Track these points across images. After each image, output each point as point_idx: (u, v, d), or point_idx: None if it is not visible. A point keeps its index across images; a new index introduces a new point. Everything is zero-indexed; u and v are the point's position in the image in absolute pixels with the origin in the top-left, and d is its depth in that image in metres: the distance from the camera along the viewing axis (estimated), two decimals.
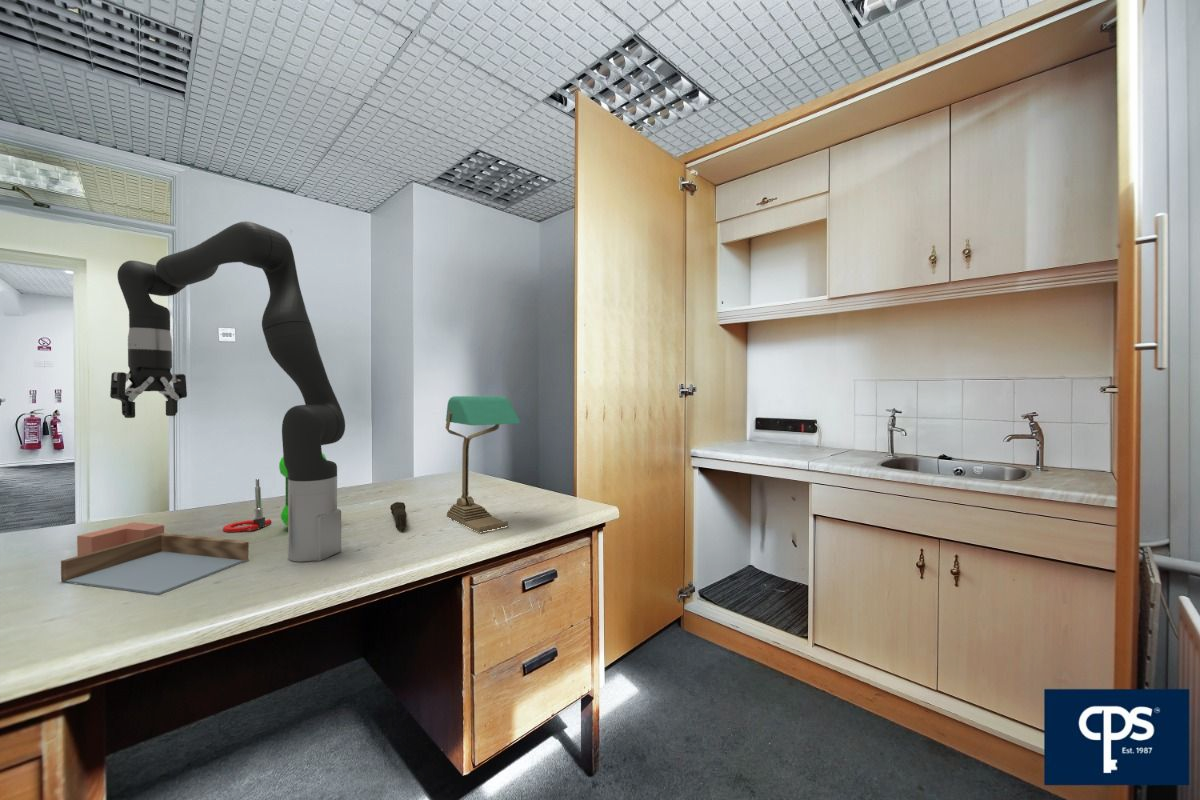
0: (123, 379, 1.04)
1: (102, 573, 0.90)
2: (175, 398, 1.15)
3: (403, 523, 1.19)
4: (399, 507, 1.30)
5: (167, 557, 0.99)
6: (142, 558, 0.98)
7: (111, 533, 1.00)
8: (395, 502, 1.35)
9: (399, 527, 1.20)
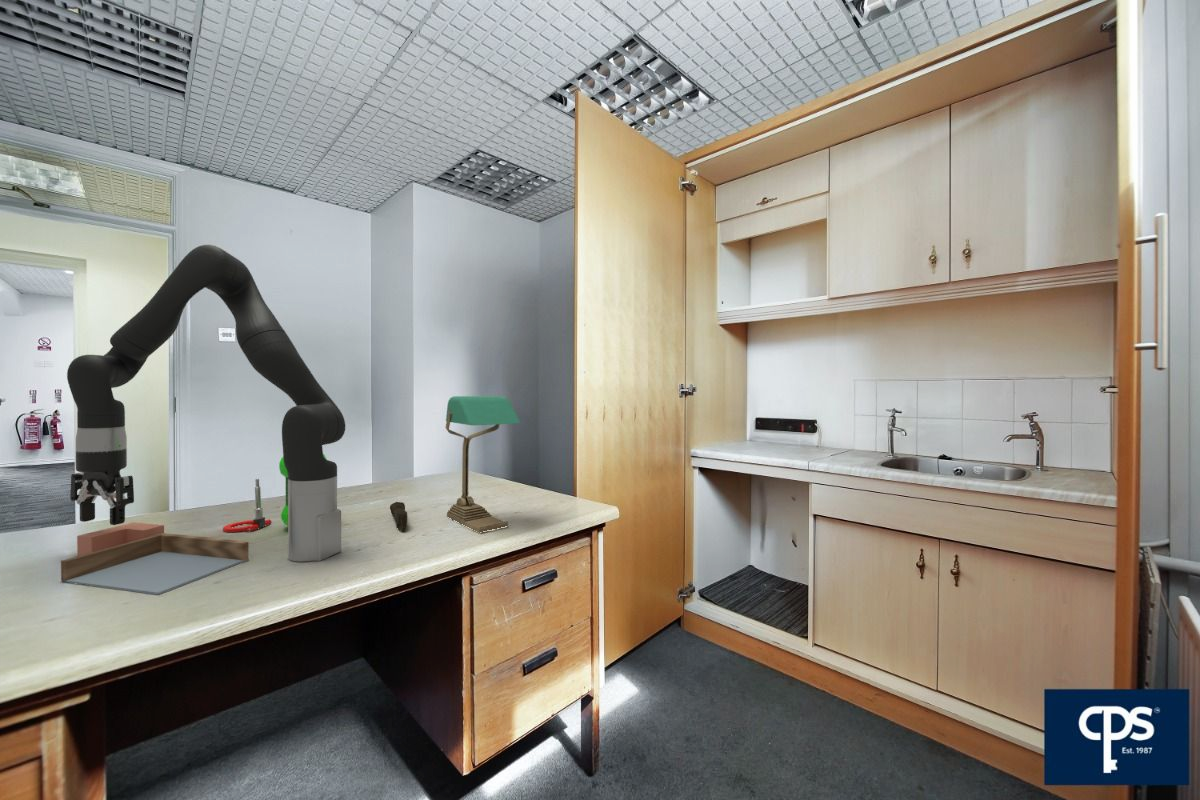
0: None
1: (102, 573, 0.90)
2: None
3: (404, 523, 1.19)
4: (399, 507, 1.30)
5: (167, 557, 0.99)
6: (142, 558, 0.98)
7: (111, 533, 1.00)
8: (395, 502, 1.35)
9: (400, 527, 1.20)
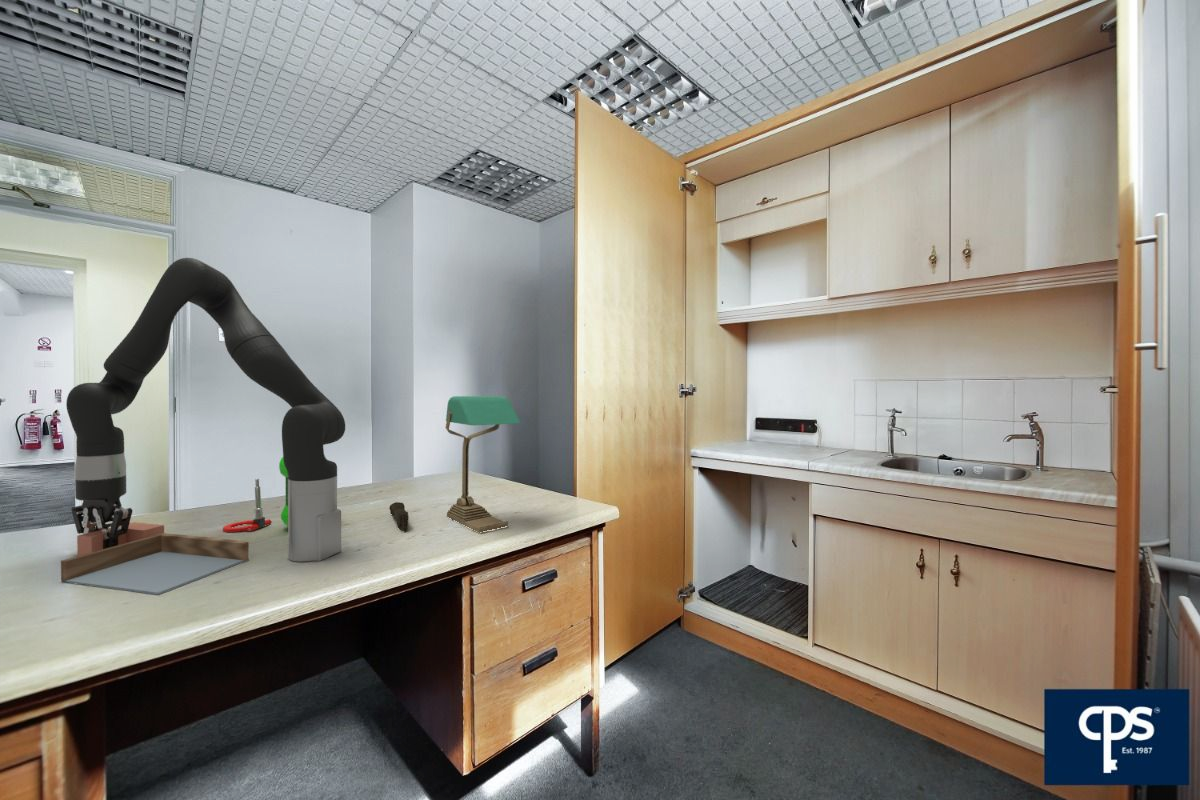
0: None
1: (102, 573, 0.90)
2: None
3: (406, 523, 1.19)
4: (399, 507, 1.30)
5: (167, 557, 0.99)
6: (142, 558, 0.98)
7: None
8: None
9: (401, 527, 1.20)
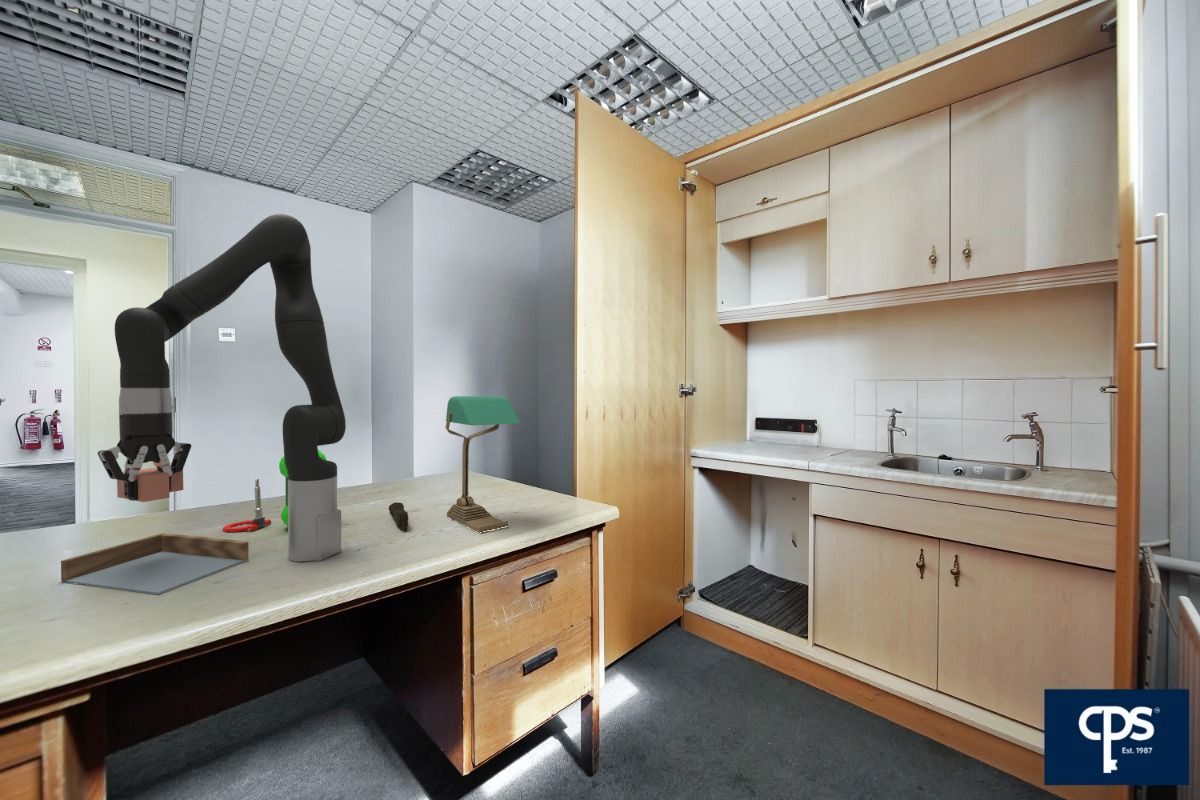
0: None
1: (102, 573, 0.90)
2: None
3: (405, 523, 1.19)
4: (398, 507, 1.30)
5: (167, 557, 0.99)
6: (142, 558, 0.98)
7: None
8: None
9: (401, 527, 1.20)
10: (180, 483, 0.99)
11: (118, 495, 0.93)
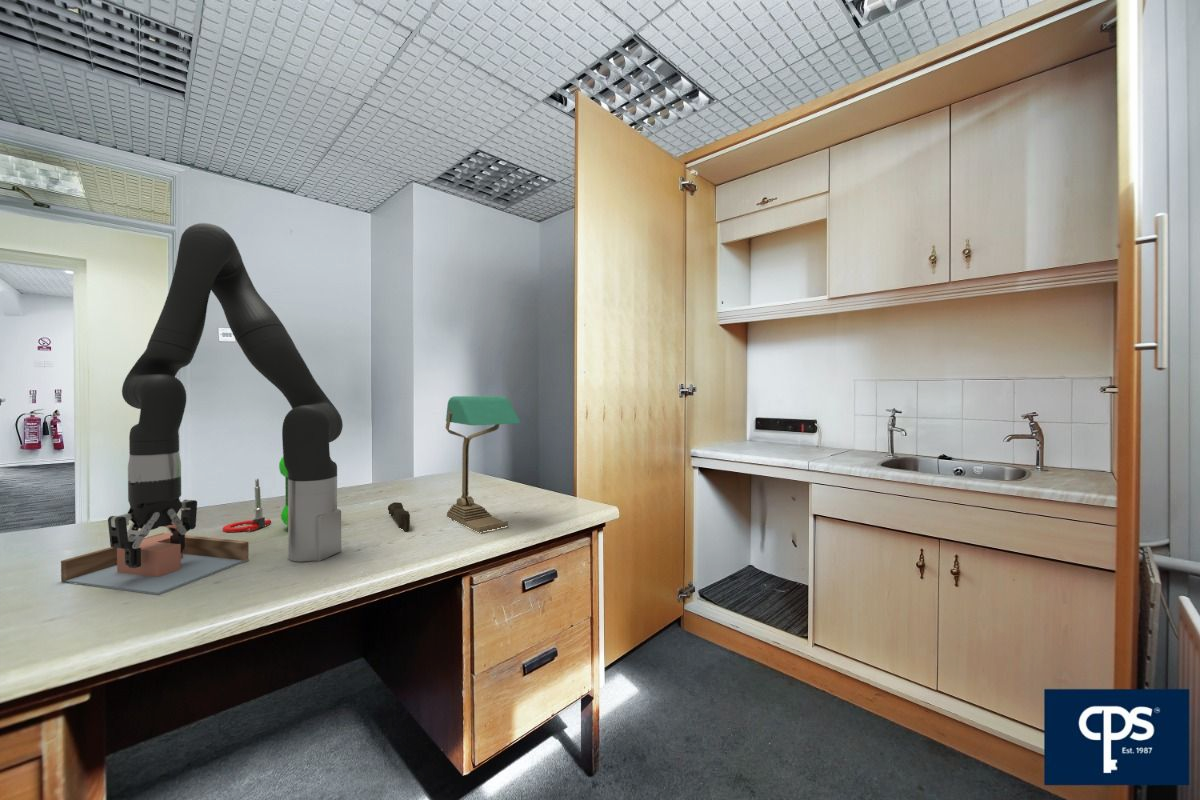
0: None
1: (102, 573, 0.90)
2: None
3: (408, 522, 1.19)
4: (398, 507, 1.30)
5: None
6: None
7: None
8: None
9: (403, 527, 1.20)
10: None
11: (118, 570, 0.90)
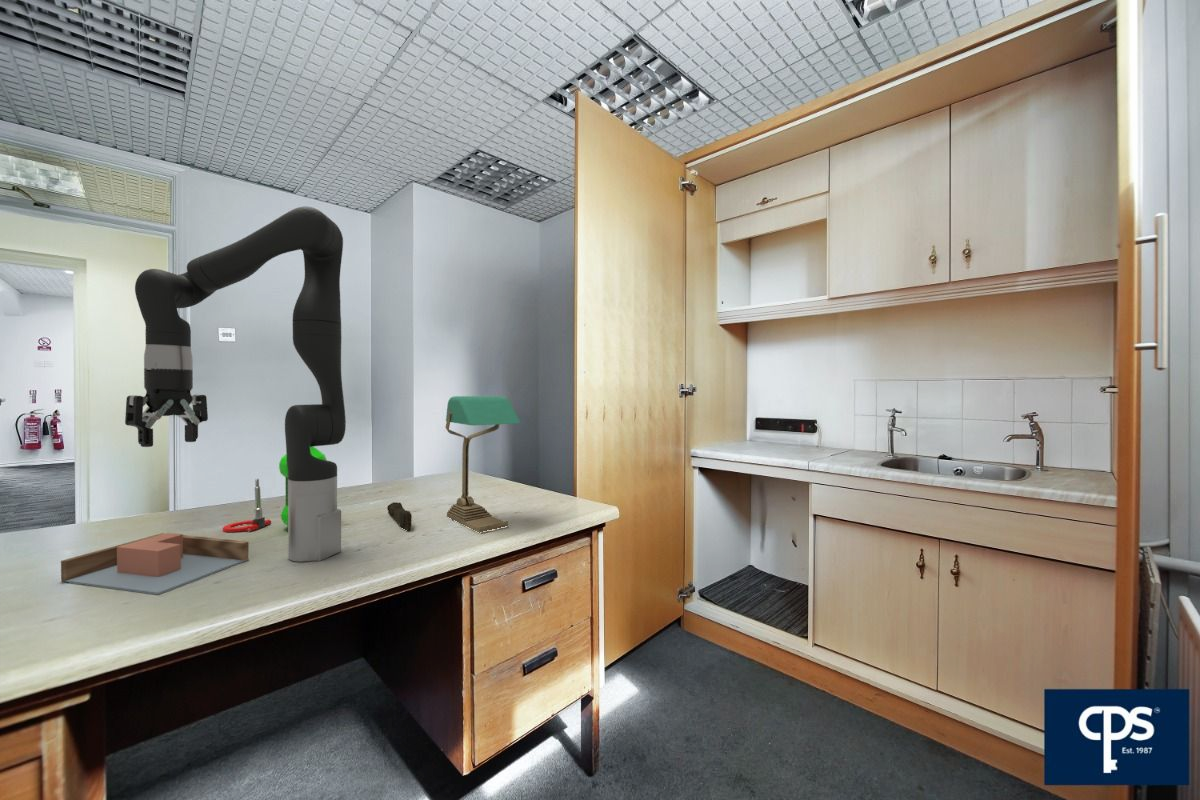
0: None
1: (102, 573, 0.90)
2: None
3: (410, 522, 1.20)
4: (399, 507, 1.30)
5: None
6: None
7: None
8: None
9: (405, 526, 1.20)
10: (180, 551, 0.98)
11: (118, 570, 0.90)
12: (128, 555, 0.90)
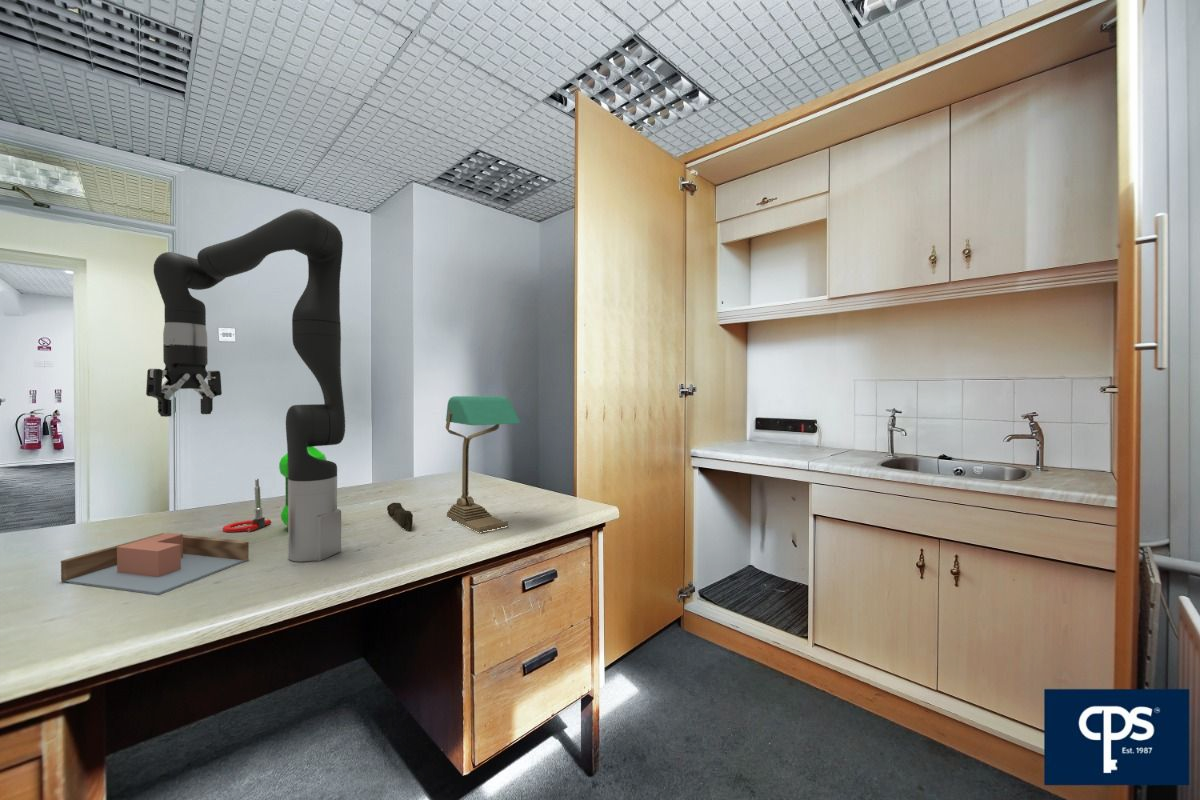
0: None
1: (102, 573, 0.90)
2: None
3: (411, 522, 1.20)
4: (399, 507, 1.30)
5: None
6: None
7: None
8: (392, 503, 1.34)
9: (406, 526, 1.20)
10: (180, 551, 0.98)
11: (118, 570, 0.90)
12: (128, 555, 0.90)
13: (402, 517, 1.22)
